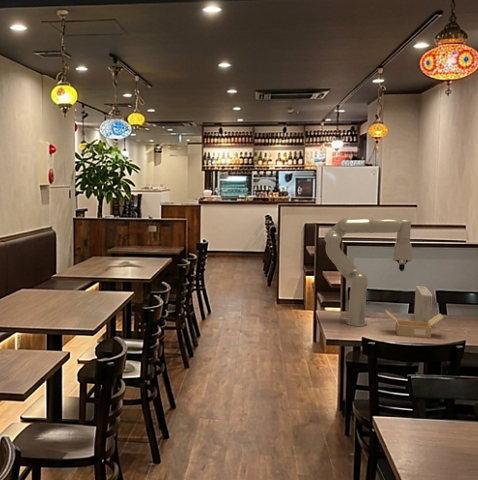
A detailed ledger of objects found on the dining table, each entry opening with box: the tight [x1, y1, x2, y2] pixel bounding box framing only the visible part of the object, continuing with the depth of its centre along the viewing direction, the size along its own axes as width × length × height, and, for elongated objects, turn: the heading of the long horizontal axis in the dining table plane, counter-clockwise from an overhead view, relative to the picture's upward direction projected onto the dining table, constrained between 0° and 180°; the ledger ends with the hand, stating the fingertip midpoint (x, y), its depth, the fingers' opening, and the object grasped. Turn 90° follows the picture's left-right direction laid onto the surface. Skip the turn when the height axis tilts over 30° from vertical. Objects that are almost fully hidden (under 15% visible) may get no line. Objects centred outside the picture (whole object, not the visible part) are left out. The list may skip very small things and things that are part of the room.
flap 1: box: [385, 309, 398, 324], centre depth 304 cm, size 1×11×8 cm
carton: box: [394, 319, 433, 339], centre depth 302 cm, size 18×12×6 cm
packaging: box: [413, 285, 434, 327], centre depth 329 cm, size 30×6×20 cm, turn 168°
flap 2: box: [429, 313, 444, 327], centre depth 299 cm, size 1×11×8 cm
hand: (401, 270), depth 319 cm, fingers closed
